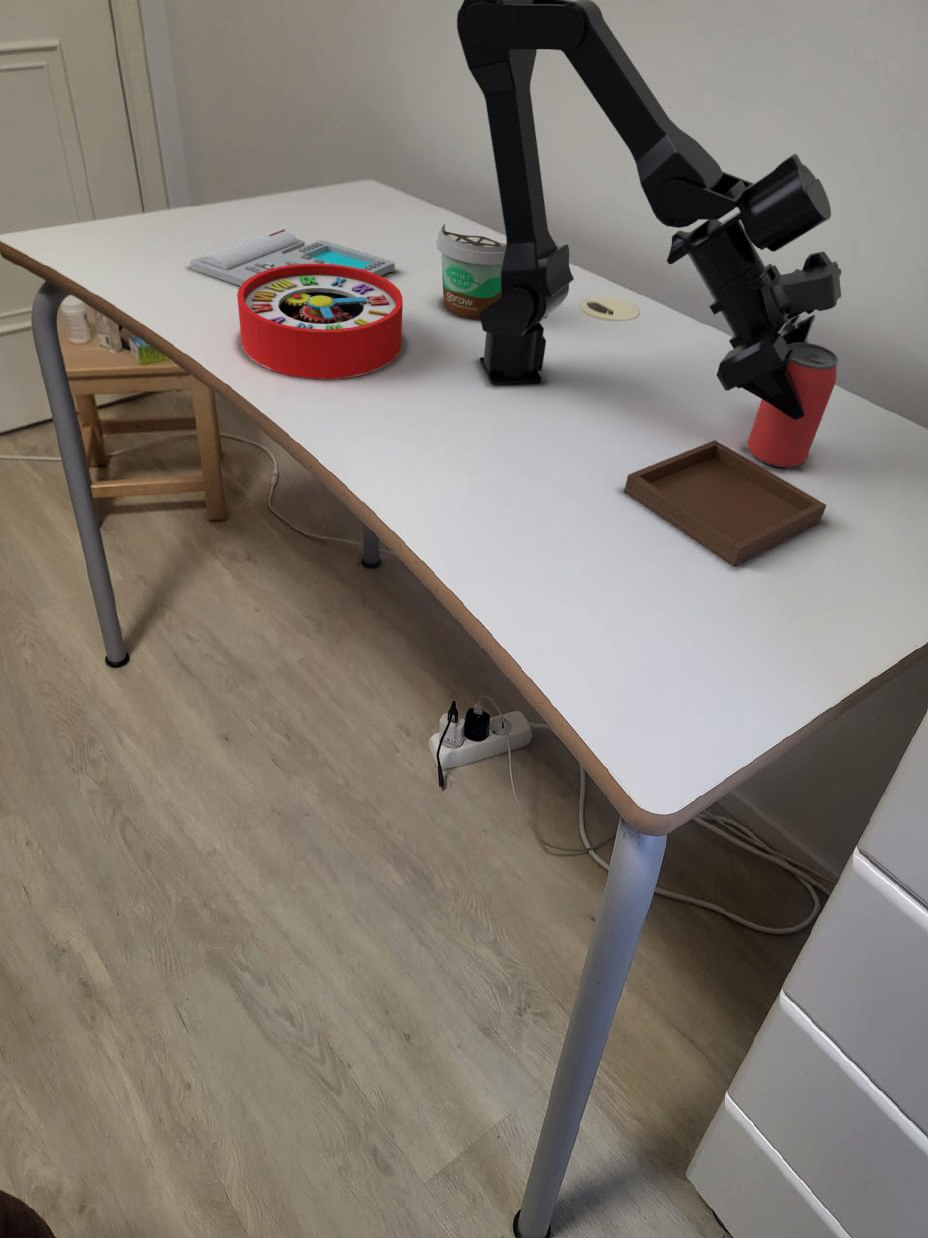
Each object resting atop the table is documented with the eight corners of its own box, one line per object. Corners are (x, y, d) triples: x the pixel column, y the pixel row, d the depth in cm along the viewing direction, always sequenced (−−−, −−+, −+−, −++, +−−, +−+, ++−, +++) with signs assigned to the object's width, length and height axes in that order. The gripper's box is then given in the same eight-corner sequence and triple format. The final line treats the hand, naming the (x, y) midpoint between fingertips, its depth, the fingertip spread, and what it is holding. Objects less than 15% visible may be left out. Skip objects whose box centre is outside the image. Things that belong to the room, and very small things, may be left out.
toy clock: (225, 267, 111) (378, 259, 117) (230, 312, 115) (377, 302, 121) (252, 338, 98) (423, 324, 104) (256, 386, 102) (421, 370, 108)
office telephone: (186, 251, 125) (281, 218, 138) (189, 270, 127) (282, 235, 140) (314, 294, 116) (402, 254, 129) (315, 313, 118) (402, 272, 131)
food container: (419, 311, 121) (422, 236, 115) (436, 296, 126) (440, 222, 119) (502, 331, 118) (510, 255, 112) (517, 315, 123) (526, 241, 116)
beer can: (773, 475, 96) (810, 372, 88) (733, 445, 100) (765, 344, 92) (817, 463, 98) (857, 362, 90) (777, 435, 102) (811, 336, 94)
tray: (623, 491, 91) (627, 474, 90) (710, 456, 98) (715, 439, 96) (733, 566, 83) (740, 548, 81) (819, 522, 89) (827, 504, 88)
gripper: (787, 258, 78) (867, 406, 82) (827, 207, 91) (895, 338, 95) (682, 321, 86) (759, 454, 90) (732, 266, 99) (798, 385, 103)
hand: (806, 404), depth 94 cm, fingers closed on beer can, 6 cm apart
